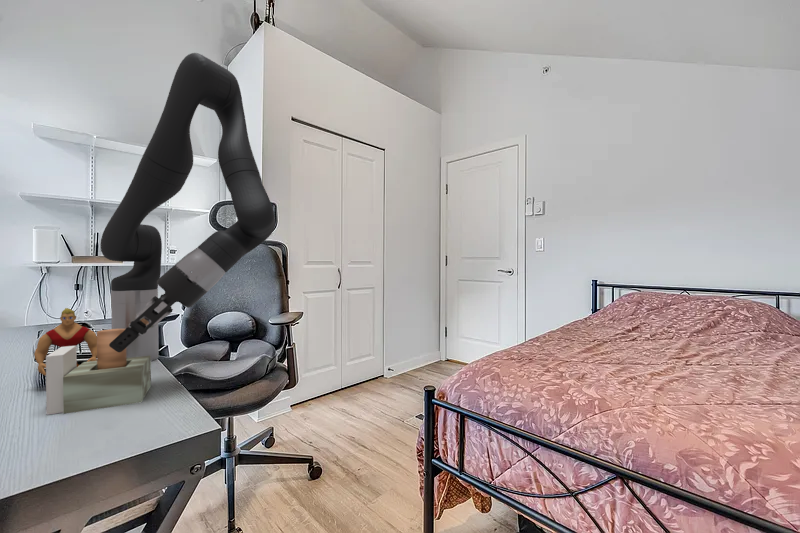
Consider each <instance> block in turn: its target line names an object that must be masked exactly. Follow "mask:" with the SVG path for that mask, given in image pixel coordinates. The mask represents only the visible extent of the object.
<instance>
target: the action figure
mask: <svg viewBox="0 0 800 533" xmlns="http://www.w3.org/2000/svg"><path fill="white" fill-rule="evenodd" d="M60 314H61V315H60V317H59V318H60V321H61V323H60V324H58V325H57V326H56V327H54V328H52V329H51V330H48V331H45V333H44V334H43V335H42V336H41V337H39V339H38V342H37V346H36V349H35V351H34V353H33V354H34V358H35V360H36V363H37V364H38V366H37V371H38V372H39V373H40V374H41V375H43V376H46V363H44V361H45V360H46V356H48V354H49V350H50V347H51V346H55V347H59V348H60V347H66V346H76V347H77V346H78V345H79V344H82V343H83V342H86V344H87V347H88V349H89V352H90V353H91V357H90V358H89V359H88V360H86V362H90V361H97V332H94V331H93V330H92V329H90V328H89V327H86V326H83V325H81V324H79V323H77V322H75V320H77V316H76V313H75V310H73V309H71V308H67V307H65V308H64V309H63V310H62V311H61V313H60ZM79 365H80V364H78V363H77V367H78V366H79Z"/></svg>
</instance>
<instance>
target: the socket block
mask: <svg viewBox="0 0 800 533" xmlns="http://www.w3.org/2000/svg"><path fill="white" fill-rule="evenodd" d="M151 362H152V361H151V355H150V356H140V357H130V358H127V366H126V367H119V368H110V369H100V370H97V361H90V362H87V361H83V362H81V364H79V366H78V367H76V368H75V369H74V370H72V371H71V372H70V373H68V374H67V375H65V376H64V377H63V403H64V412H63V415H64V414H65V415H66V414H72V413H79V412H85V411H92V410H100V409H105V408H106V409H107V408H113V407H119V406H127V405H132V404H140V403H142V402H143V401H144V399H145V397H146V395H147V394H148V391H149V390H150V388H151V387H152V369H151V368H152V366H151V365H152V363H151Z"/></svg>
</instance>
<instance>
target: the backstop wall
mask: <svg viewBox="0 0 800 533" xmlns="http://www.w3.org/2000/svg"><path fill="white" fill-rule="evenodd" d="M77 358H78V357H77V346H66V347H59V348H57V349H55V350H53V352H51V353H48V354H47V355H46V357H45V364H46V368H45V372H46V375H45V392H46V393H45V396H46V402H45V403H46V407H45V409H46V416H48V415H54V414H61V413H62V414H63V413H64V403H63V377H64V376H65V375H67V374H68V373H70V372H71V371H72V370H74V369H75V368H76V367H77V364H78V361H77Z"/></svg>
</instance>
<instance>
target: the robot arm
mask: <svg viewBox="0 0 800 533" xmlns="http://www.w3.org/2000/svg"><path fill="white" fill-rule="evenodd" d="M176 69H177V70H176V72H175V74H174V76H173V80H172V83H171V86H170V88H169V91H168V96H167V99H166V101H165V105H164V108H163V110H162V112H161V116H160V118H159V121H158V123H157V125H156V127H155V130H154V131H153V134H152V136H151V138H150V141H149V142H148V144H147V147H146V148H145V150H144V153H143V155H142V157H141V158H140V160H139V163H138V166H137V169H136V171H135V173H134V176H133V178H132V179H131V182H130V184H129V187H128V188H127V190H126V192H125V195H124V196H123V198H122V199H121V202H120V203H119V204H118V205H117V208H116V210H114V213H113V214H112V216H111V218H110V219H109V220H108V222H107V223H106V225H105V228H104V230H103V232H102V235H101V239H100V252H101V254H102V256H103V257H104V258H105V259H107V260H109V261H113V262H124V263H125V262H127V263H129V262H133V266H132V268H131V269H130V270H129V271H128V272H126V273H124V274H122V275H118V276H116V277H113V278H112V279H111V282H110V290H111V291H110V300H111V302H110V303H111V306H110V307H111V308H110V309H111V329H125V330H124V331H123V332H122V333H121V334H120V335H119V336H117V337H116V338H115V339H114V340H113V341H112V342H111V343H110V344H109V346H110V347H111V348H112V349H114V350H115V351H117V352H122V351H123V350H124V349H125V348H126V358H130V357H140V356H150V355H151V362H152V361H154V360H155V361H156V360H158V359H159V358H160V357H159V355H160V354H159V352H160V351H159V350H160V349H159V341H160V340H159V323H160V322H161V321H162V320H163V319H165V318H167V317H168V316H170V314H172V312H173V310H174V309H173V308H172V306H174V304H175V303H178V302H179V303H180V305H182V306H184V307H185V308H189V309H190V308H191V307H193V306H194V305H195V304H196V303H197V302H198V301H199V300H201V299H202V298H203V296H205V295H206V294H207V293H208V292H209V291H210V290H211V289H212V288H213V287H214V286H215V285H217V283H218V282H219V281H220V280H221V279H222V277H223V276H224V275H226V273H227V272H229V270H230V269H232V268H233V266H235V265H236V264H237V263H238V262H239V261H240V259H242V258H243V257H244V256H245V255H247V254H249V253H250V252H251V251H253V250H254V249H256V248H257V247H259V246H260V245H262V243H264V242H265V241H266V240H267V239H268V238H269V237H270V236H271V235H272V234H273V232H274V230H275V228H276V219H275V211H274V207H273V205H272V203H271V200H270V197H269V195H268V193H267V191H266V188H265V187H264V185H263V181H262V177H261V173H260V170H259V168H258V165H257V162H256V159H255V156H254V154H253V150H252V147H251V142H250V139H249V134H248V128H247V127H248V126H247V120H246V115H245V109H244V105H243V104H244V103H243V98H242V92H241V88H240V85H239V82H238V80H237V77H236V76H235V75H234V74H233V73H232V71H230V70H228V69H227V68H226V67H223V65H222V66H221V65H220V64H219V63H216V62H215V61H213V60H211V59H210V58H208V57H206V56H205V55H203V54H201V53H198V52H192V53H189V54H187V55H186V56H185V57H184V58H183V59H182V60H181V61H180V63H179V65H178V67H177V68H176ZM199 105H201V106H203V107H205V108H207V109H210V110H211V111H212V110H213V111H214V112H215V114H216V116H217V118H218V121H219V123H220V124H221V128H222V129H221V130H222V131H221V132H222V134H221V138H220V140H219V141H220V142H219V145H218V149H217V158H218V164H219V167H220V171H221V173H222V176H223V180H224V182H225V186H226V187H227V190H228V192H229V193H230V196H231V200H232V206H233V208H234V213H235V216H236V219H237V221H235V222H234V223H233V224H232V225H231V226H229V227H228V228H226V229H225V230H221V229H219V230H216V231H215V232H213V233H212V234H211V235H210V236H209V237H207V238H206V239H205V240H203V241H202V243H200V244H199V245H198V246H197V247H195V248H194V249H192V250H191V251H190V252H188V253H187V254H185V255H184V256H183V257H182V258H180V260H179V261H177V262H176V263H175V264H174V265H173V266H172V267H170V268H169V269H168V270H167V271H166V272H165V273H164V274H163V275H161V273H162V272H161V271H162V270H161V269H162V254H163V253H162V250H163V248H162V247H163V246H162V245H163V241H162V236H161V233H160V232H159V230H158V228H156V227H155V226H153V225H149V224H143V223H142V222H143V221H144V219H145V218H146V217H147V216H148V215H149V214H151V212H153V211H154V210H155V209H157V208H159V207H160V206H162V205H163V204H164V203H166V202H168V201H170V200H171V199H172V198H174V196H176V195H177V194H179V193H180V192H181V190H182V189H183V187H184V185H185V184H186V181H187V179H188V177H189V175H190V174H191V171H192V169H193V166H194V152H193V146H192V140H191V131H190V130H191V124H192V121H193V119H194V115H195V112H196V111H197V109H198V106H199ZM159 288H161V290H163V291H164V293H163V294H161V295H159Z"/></svg>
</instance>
